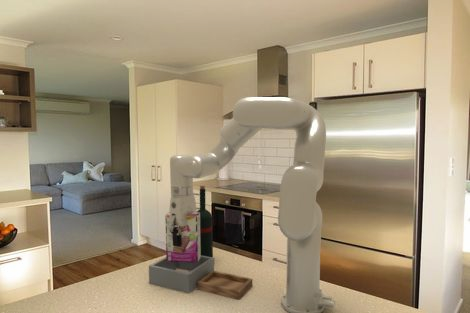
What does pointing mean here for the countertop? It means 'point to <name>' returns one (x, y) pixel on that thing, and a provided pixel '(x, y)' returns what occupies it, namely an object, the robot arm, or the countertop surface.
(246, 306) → the countertop surface
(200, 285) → the walnut tray
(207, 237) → the wine bottle
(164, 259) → the deep bin
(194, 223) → the candy bar box
